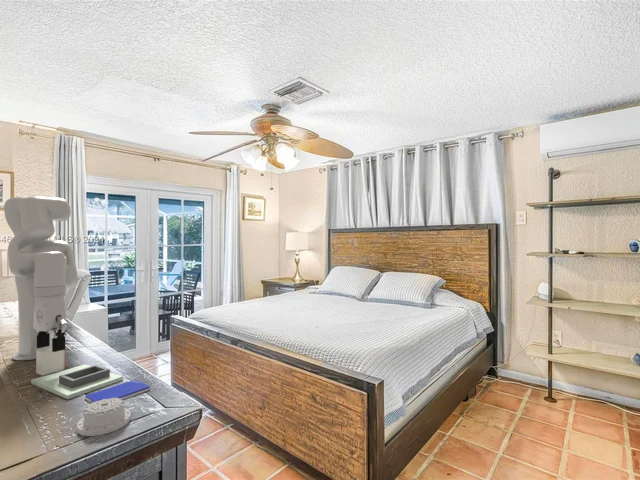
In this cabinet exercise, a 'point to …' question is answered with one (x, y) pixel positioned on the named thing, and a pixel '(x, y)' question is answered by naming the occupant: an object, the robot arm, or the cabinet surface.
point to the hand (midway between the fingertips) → (50, 348)
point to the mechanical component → (103, 417)
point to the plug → (49, 361)
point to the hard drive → (119, 391)
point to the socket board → (77, 380)
